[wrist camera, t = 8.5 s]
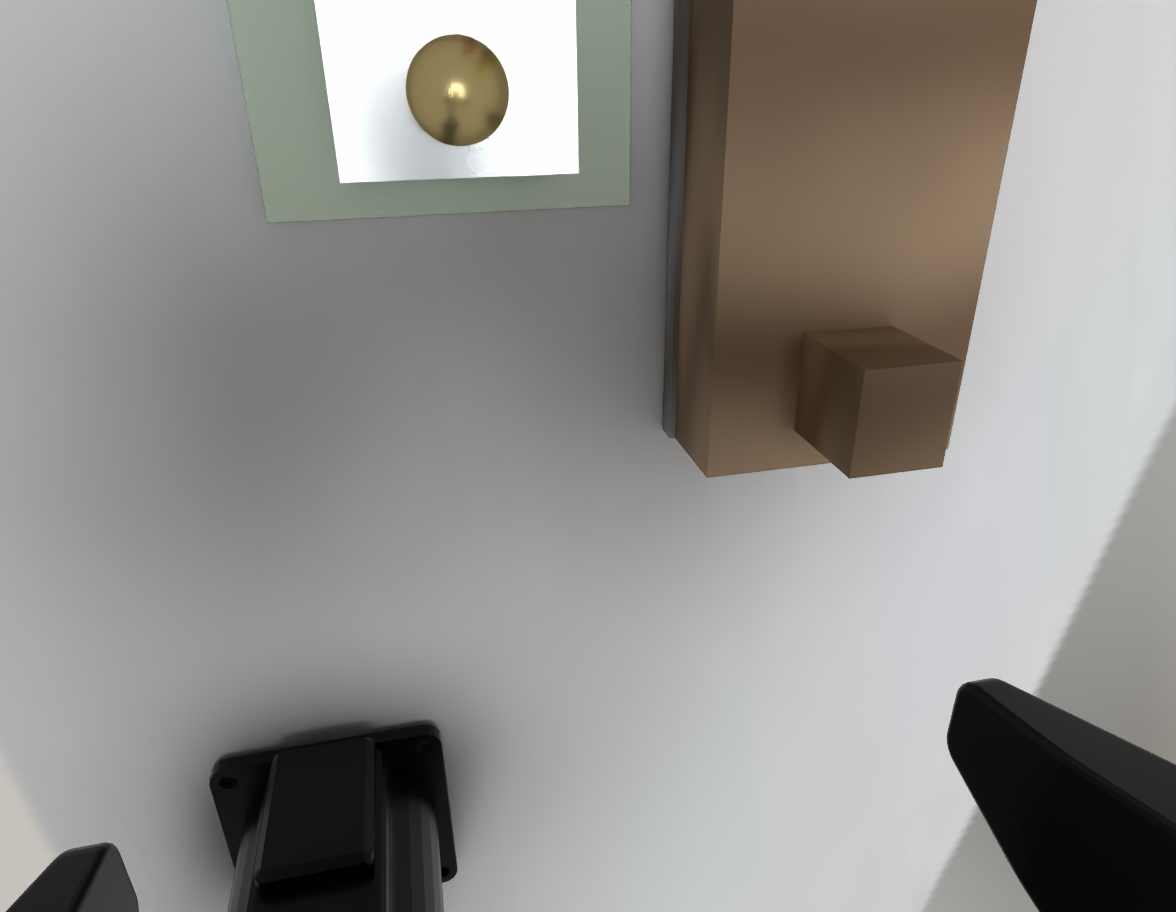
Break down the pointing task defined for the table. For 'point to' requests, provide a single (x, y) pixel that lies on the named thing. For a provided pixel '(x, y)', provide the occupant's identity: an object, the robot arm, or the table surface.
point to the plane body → (831, 224)
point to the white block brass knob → (450, 87)
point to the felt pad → (313, 190)
